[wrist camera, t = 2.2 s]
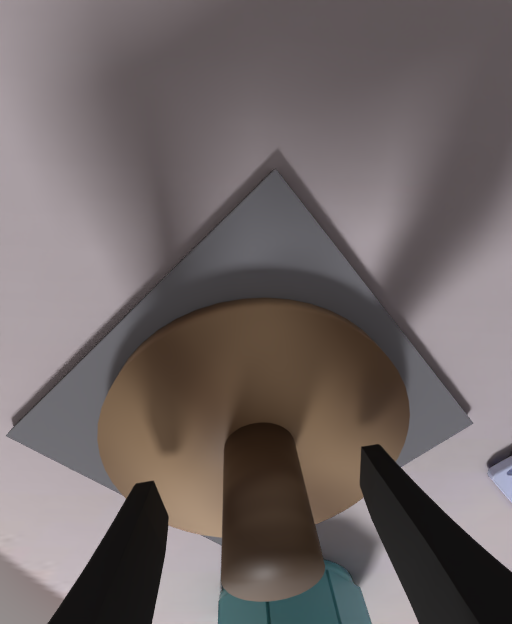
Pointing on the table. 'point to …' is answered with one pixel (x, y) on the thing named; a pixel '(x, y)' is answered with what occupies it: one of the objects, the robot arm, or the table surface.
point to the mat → (227, 287)
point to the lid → (254, 431)
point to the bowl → (303, 604)
